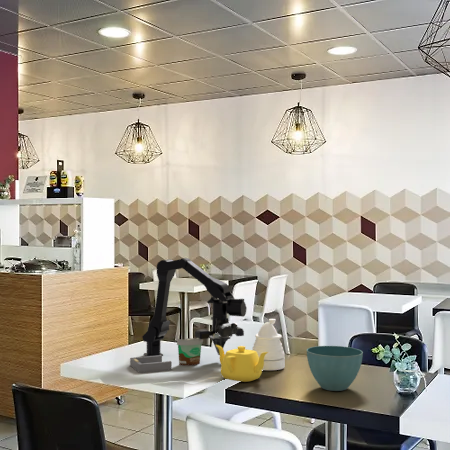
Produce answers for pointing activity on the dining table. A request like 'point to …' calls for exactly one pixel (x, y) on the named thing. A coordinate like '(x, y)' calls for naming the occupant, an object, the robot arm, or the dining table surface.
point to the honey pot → (270, 346)
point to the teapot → (241, 364)
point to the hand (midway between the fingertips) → (219, 354)
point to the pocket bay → (150, 364)
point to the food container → (189, 351)
